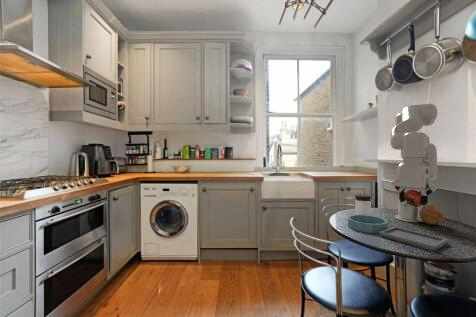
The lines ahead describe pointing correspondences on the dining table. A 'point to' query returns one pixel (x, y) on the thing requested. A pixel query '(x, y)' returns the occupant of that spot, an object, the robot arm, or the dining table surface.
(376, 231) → the teal polygonal ring
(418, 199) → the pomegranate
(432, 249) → the tray
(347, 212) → the dining table surface
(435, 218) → the onion
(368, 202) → the jar
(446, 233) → the dining table surface
